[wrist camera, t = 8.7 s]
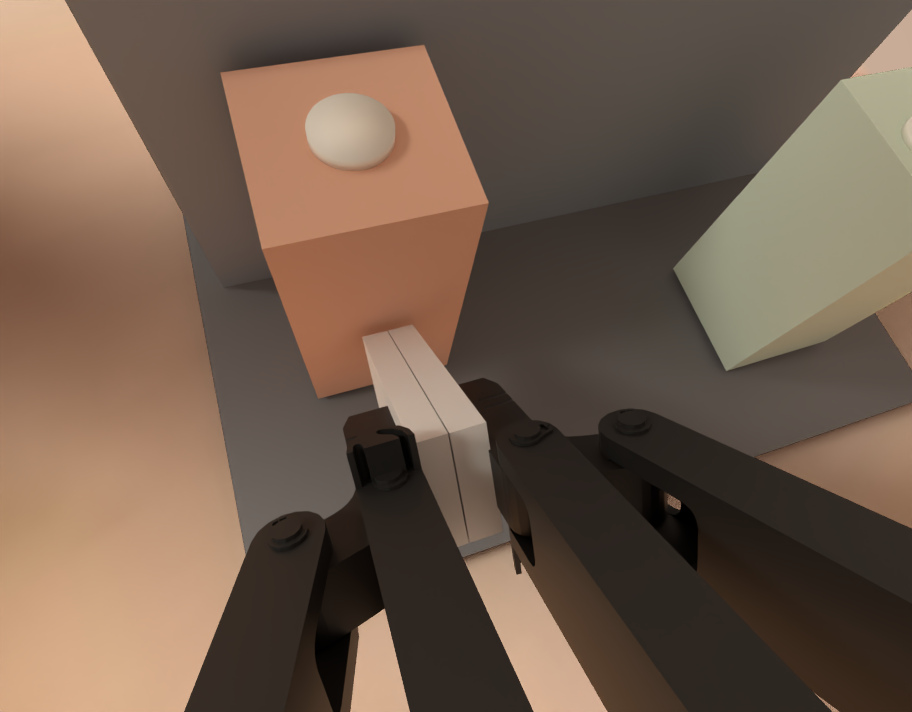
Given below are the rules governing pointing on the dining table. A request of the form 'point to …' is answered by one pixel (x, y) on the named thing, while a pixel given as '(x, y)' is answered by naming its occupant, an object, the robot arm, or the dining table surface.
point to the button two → (813, 229)
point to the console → (516, 209)
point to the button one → (358, 202)
